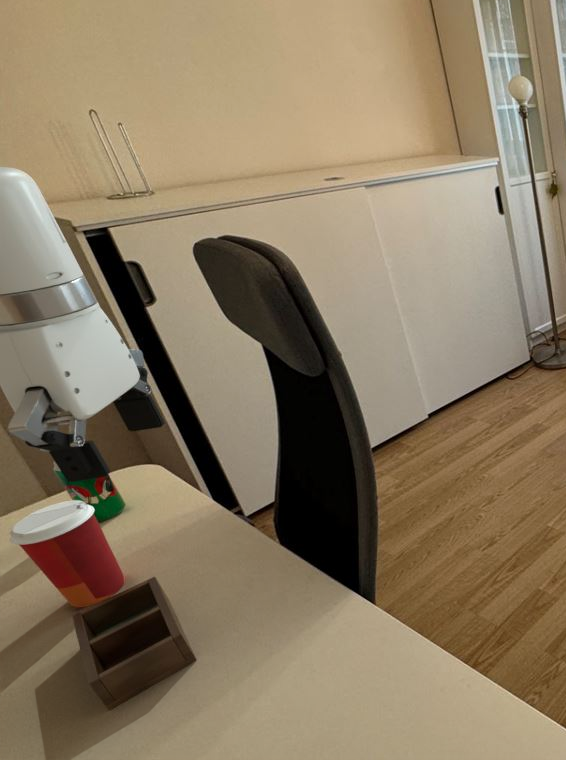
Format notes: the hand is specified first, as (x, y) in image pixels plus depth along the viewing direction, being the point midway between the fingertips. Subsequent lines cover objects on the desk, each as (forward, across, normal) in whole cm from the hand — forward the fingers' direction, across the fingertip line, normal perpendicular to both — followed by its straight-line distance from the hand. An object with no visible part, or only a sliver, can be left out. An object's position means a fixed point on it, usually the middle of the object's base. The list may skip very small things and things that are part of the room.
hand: (121, 451), depth 60 cm
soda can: (+30, -37, -32) cm, 58 cm away
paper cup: (+30, -16, -22) cm, 41 cm away
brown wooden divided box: (+30, -2, -10) cm, 32 cm away
